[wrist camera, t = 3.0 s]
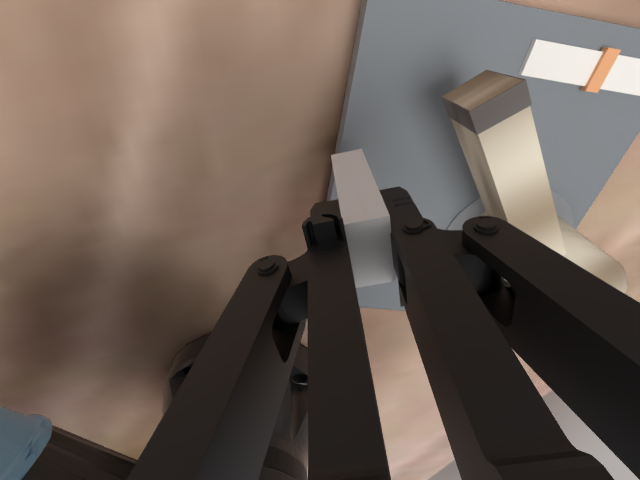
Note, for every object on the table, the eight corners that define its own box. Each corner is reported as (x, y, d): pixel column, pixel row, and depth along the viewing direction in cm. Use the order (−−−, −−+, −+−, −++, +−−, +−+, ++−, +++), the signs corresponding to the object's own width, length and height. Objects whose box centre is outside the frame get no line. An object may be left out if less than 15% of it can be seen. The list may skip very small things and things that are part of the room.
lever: (566, 258, 24) (647, 331, 18) (471, 299, 26) (518, 376, 20) (511, 33, 16) (621, 38, 11) (380, 113, 18) (415, 154, 12)
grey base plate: (504, 303, 29) (519, 324, 27) (311, 285, 27) (311, 307, 25) (662, 39, 19) (708, 41, 16) (365, -20, 17) (374, -27, 15)
